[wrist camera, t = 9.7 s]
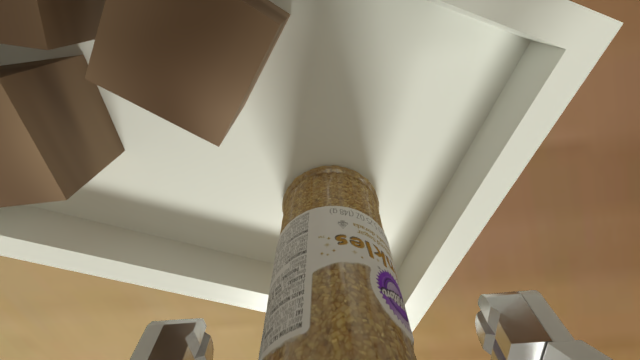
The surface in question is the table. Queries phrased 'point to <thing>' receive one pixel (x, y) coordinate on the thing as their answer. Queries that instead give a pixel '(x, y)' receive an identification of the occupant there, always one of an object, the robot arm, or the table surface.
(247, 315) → the table surface
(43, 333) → the table surface
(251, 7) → the cube
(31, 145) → the cube
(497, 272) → the table surface
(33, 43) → the cube
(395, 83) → the tray
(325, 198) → the sprinkles bottle
